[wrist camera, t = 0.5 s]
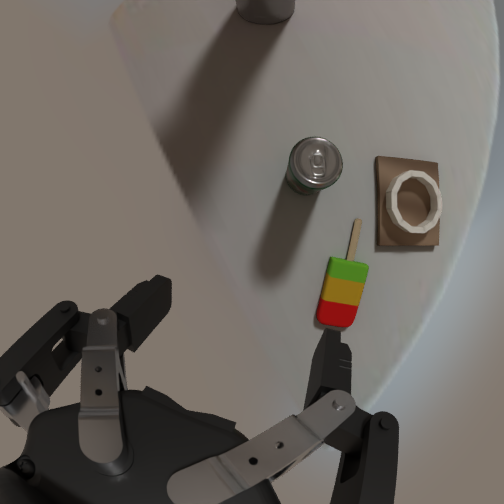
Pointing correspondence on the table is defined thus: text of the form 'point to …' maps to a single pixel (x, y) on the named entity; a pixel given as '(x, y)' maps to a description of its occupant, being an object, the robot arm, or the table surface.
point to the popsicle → (343, 286)
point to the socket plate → (407, 202)
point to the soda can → (313, 165)
